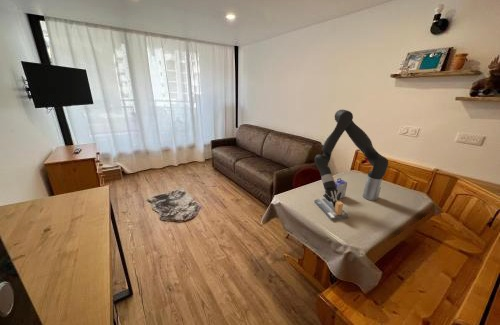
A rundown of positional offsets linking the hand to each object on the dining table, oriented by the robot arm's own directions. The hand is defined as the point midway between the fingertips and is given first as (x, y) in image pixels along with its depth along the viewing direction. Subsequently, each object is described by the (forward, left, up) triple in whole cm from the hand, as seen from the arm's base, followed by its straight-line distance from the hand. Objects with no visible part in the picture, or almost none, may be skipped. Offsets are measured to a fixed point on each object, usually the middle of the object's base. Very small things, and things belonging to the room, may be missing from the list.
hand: (336, 207), depth 129 cm
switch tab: (0, +2, -3) cm, 4 cm away
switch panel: (0, -6, -5) cm, 8 cm away
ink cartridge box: (-15, -20, -6) cm, 25 cm away
